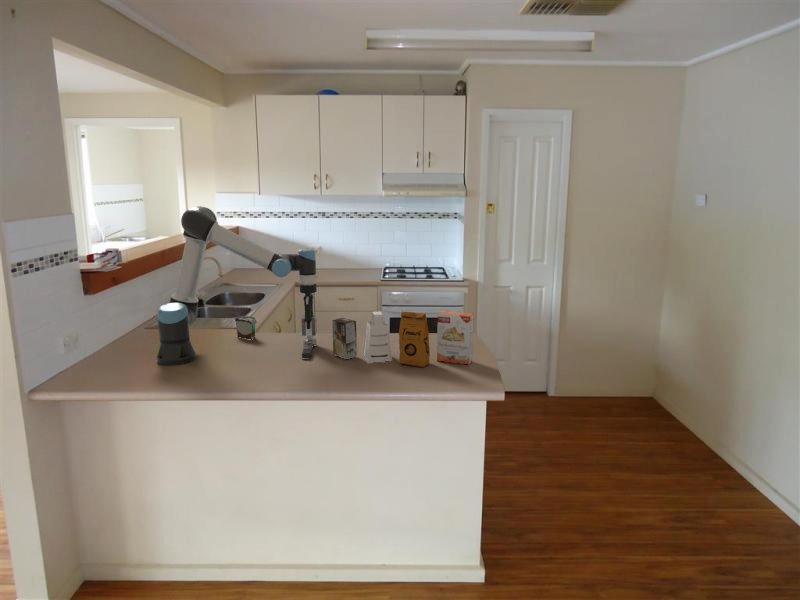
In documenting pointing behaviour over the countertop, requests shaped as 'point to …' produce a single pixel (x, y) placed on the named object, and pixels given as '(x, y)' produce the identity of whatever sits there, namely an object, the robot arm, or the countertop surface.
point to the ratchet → (308, 346)
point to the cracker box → (455, 337)
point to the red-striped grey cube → (314, 328)
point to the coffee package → (414, 339)
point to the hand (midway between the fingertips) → (309, 333)
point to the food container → (245, 327)
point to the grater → (377, 339)
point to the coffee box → (344, 338)
